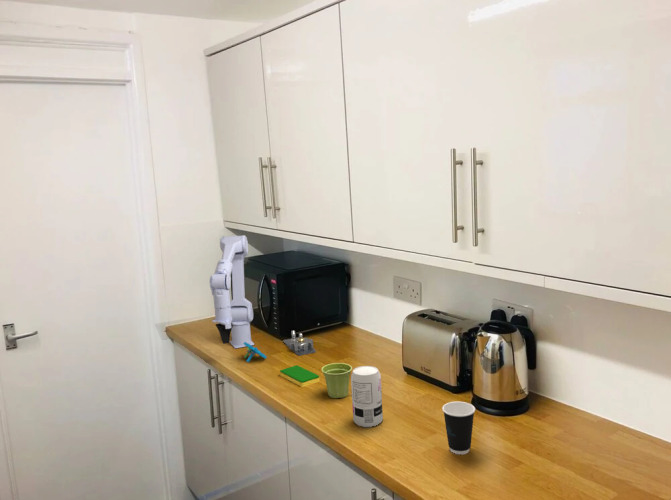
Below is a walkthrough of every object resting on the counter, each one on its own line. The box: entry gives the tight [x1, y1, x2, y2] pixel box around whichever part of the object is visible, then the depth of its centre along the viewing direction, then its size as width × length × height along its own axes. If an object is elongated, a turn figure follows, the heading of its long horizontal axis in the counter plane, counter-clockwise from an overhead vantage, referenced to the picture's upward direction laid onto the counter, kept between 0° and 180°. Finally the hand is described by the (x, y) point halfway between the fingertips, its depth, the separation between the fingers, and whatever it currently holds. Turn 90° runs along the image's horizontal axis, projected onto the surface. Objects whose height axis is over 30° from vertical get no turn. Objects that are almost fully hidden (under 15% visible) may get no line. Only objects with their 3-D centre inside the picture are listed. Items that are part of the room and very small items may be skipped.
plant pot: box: [321, 362, 353, 399], centre depth 183 cm, size 9×9×9 cm
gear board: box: [282, 330, 317, 356], centre depth 230 cm, size 18×9×6 cm, turn 23°
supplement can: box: [350, 365, 384, 428], centre depth 163 cm, size 8×8×15 cm
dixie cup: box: [442, 400, 476, 456], centre depth 146 cm, size 8×8×11 cm
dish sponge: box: [279, 364, 321, 388], centre depth 199 cm, size 7×14×2 cm, turn 37°
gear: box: [243, 342, 268, 363], centre depth 218 cm, size 11×6×10 cm
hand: (225, 342), depth 214 cm, fingers closed
